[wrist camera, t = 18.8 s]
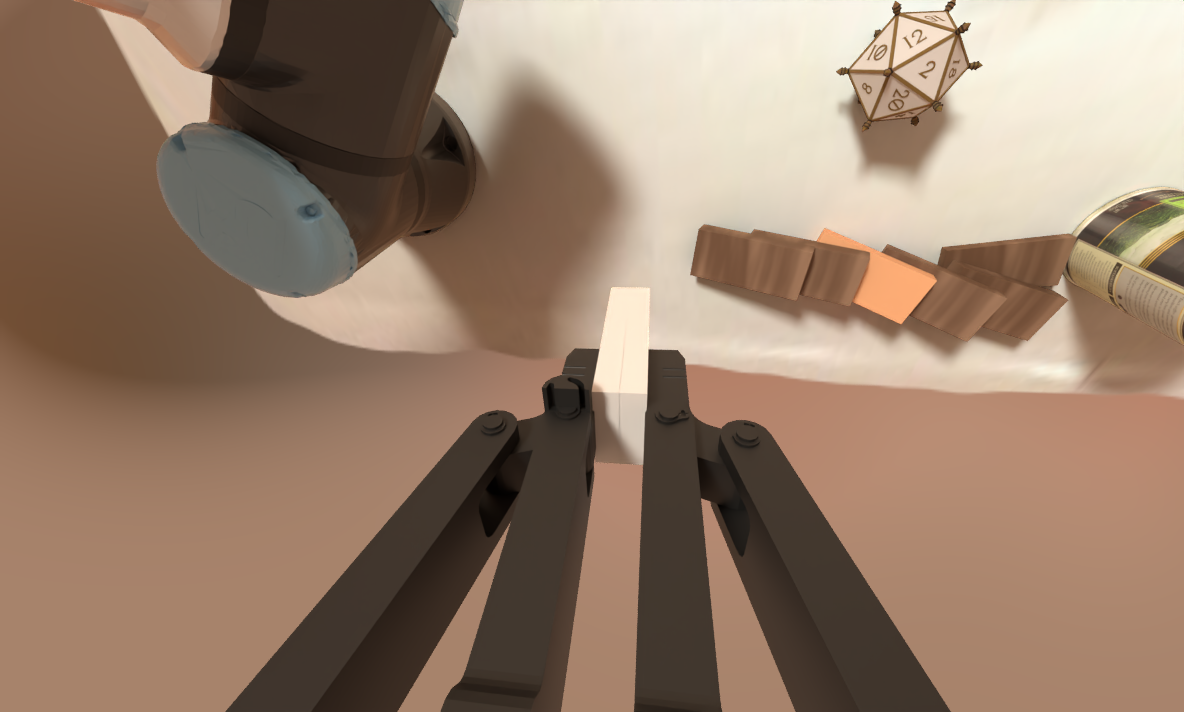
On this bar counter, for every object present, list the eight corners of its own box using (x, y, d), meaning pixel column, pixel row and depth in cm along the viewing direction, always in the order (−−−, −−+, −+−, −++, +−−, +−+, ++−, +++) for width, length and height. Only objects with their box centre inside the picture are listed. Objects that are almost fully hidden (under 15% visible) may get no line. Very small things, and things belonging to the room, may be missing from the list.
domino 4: (856, 291, 48) (967, 341, 45) (887, 248, 45) (1007, 298, 42) (858, 286, 49) (964, 334, 46) (887, 244, 47) (1003, 292, 43)
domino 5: (935, 295, 48) (1057, 285, 46) (947, 250, 45) (1077, 237, 43) (926, 287, 50) (1043, 277, 48) (937, 243, 47) (1061, 230, 45)
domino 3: (796, 275, 48) (901, 324, 45) (823, 231, 45) (937, 280, 42) (798, 270, 49) (899, 317, 47) (824, 228, 46) (933, 275, 44)
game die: (883, 80, 42) (941, 156, 38) (802, 86, 41) (854, 166, 37) (962, -37, 34) (1047, 44, 30) (864, -34, 33) (940, 51, 29)
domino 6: (929, 310, 47) (1027, 340, 47) (964, 267, 44) (1068, 300, 44) (920, 301, 49) (1015, 331, 49) (953, 259, 46) (1054, 291, 46)
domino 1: (690, 274, 49) (796, 300, 45) (698, 229, 46) (813, 253, 42) (695, 268, 50) (799, 293, 46) (704, 224, 48) (815, 246, 44)
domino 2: (738, 279, 49) (849, 306, 45) (750, 234, 46) (870, 258, 42) (742, 273, 50) (850, 298, 46) (754, 229, 47) (870, 252, 43)
